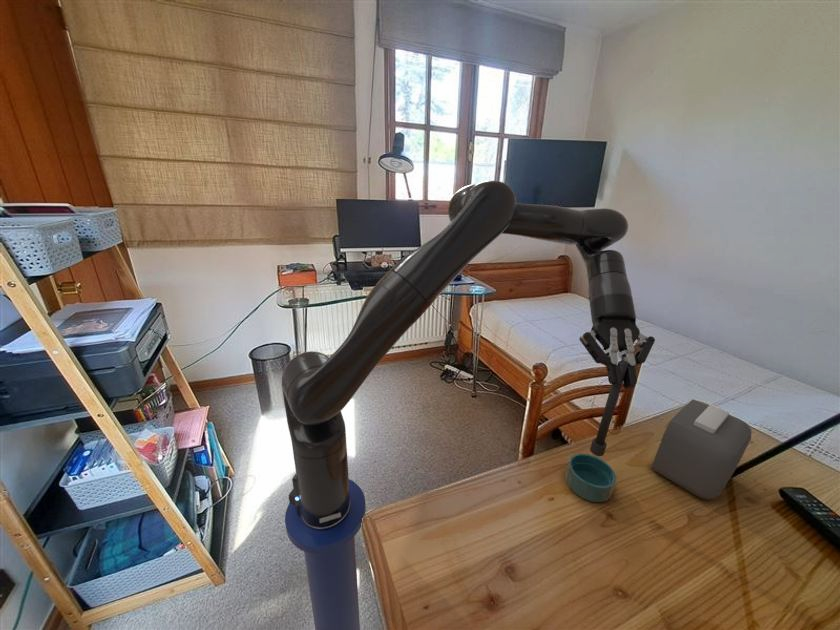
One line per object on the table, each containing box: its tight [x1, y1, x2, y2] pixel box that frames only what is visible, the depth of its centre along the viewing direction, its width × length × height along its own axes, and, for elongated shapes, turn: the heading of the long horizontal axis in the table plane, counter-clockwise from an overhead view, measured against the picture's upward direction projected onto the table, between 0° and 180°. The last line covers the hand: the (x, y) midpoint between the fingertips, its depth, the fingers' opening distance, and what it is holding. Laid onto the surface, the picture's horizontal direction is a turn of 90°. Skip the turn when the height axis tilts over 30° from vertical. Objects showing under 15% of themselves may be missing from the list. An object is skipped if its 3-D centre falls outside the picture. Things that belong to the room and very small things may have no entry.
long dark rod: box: [589, 360, 628, 457], centre depth 65 cm, size 3×3×21 cm
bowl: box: [564, 452, 617, 503], centre depth 72 cm, size 9×9×4 cm
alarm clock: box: [651, 399, 752, 500], centre depth 74 cm, size 16×11×16 cm
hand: (623, 386), depth 61 cm, fingers closed on long dark rod
